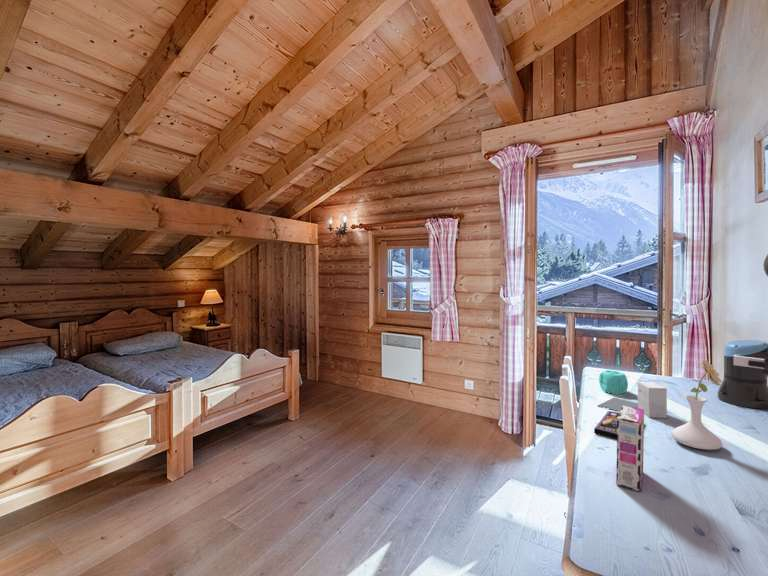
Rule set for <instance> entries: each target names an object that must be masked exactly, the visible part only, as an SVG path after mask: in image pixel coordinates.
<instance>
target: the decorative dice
mask: <svg viewBox="0 0 768 576" xmlns="http://www.w3.org/2000/svg"><path fill="white" fill-rule="evenodd" d="M598 383H599V386H600V388H601V390H602V391H603V392H604V391H605V393H607V392H609V393H608V394H611V393H614V394H613V395H623V394H625V393H626V392H627V391H628V389H629V382H628V378H627V376H626V374H624V372H622V371H618V370H612V369H611V370H602V371H601V372H600V373H599V376H598Z"/></svg>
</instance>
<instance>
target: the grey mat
mask: <svg viewBox="0 0 768 576" xmlns="http://www.w3.org/2000/svg"><path fill="white" fill-rule="evenodd" d="M599 406H601V407H600V408H603V407H605V408H604V409H606V408H609V409H608V410H610V409H612V410H611V411H614V410H615V411H614V412H618V411H619V412H620V410H621V408H622V406H628V407H634V408H638V402H635V401H631V400H627V399H623V398H618V397H613V398H610V399H608V400H606V401H604V402H602V403H599V404H598V405H597V407H599ZM619 412H618V413H619Z"/></svg>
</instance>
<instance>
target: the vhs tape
mask: <svg viewBox="0 0 768 576" xmlns="http://www.w3.org/2000/svg"><path fill="white" fill-rule="evenodd" d="M618 415H619V412H618V411H613V410H608V411H607V412H606V413H605V415H604V416H603V417H602V418H601V419H600V421H599V422H598V423H597V424H596V426H595V427H594V430H593V431H594V432H593V433H596V434H595V435H598V434H600V435H599V436H602V435H603V437H605V436H606V438H609V437H610V438H609V439H614V440H617V417H618Z"/></svg>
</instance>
